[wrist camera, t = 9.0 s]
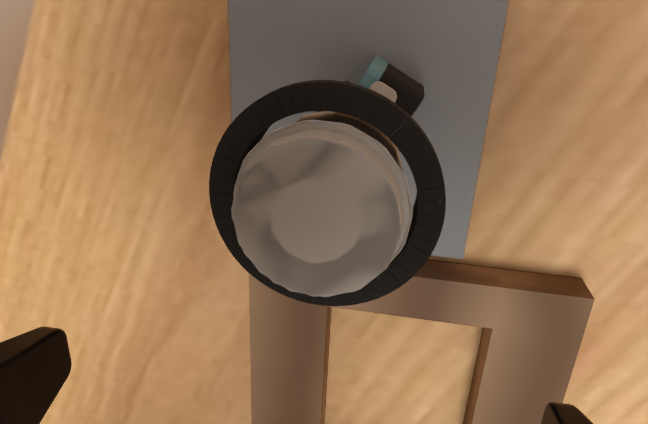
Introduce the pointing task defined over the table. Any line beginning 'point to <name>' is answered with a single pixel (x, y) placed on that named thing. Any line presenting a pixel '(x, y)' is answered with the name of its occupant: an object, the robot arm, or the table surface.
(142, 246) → the table surface
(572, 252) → the table surface
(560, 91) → the table surface
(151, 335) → the table surface
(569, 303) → the board
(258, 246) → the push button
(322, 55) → the felt pad
